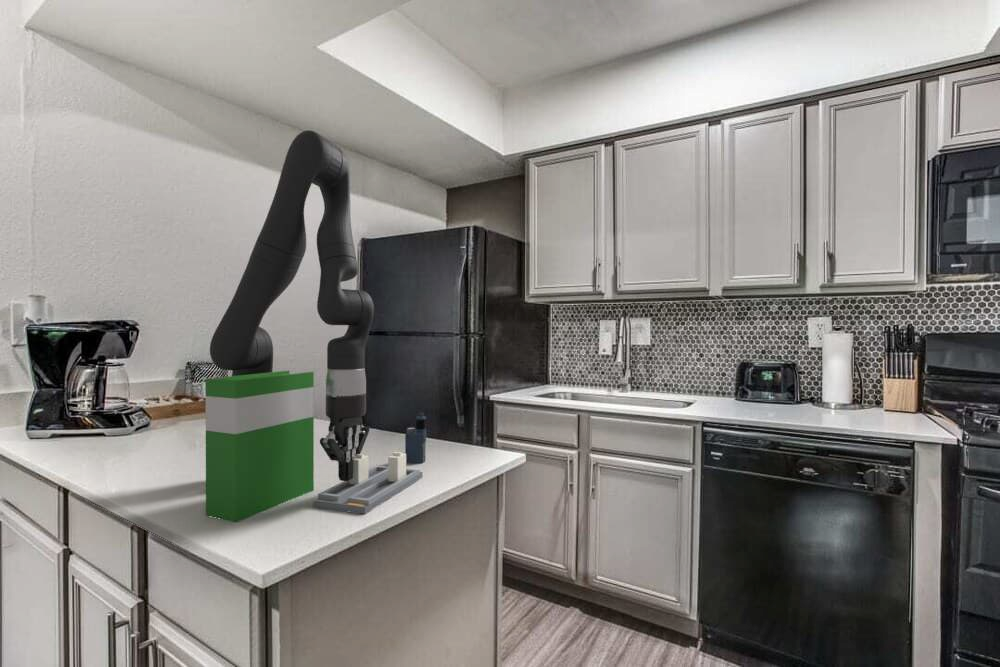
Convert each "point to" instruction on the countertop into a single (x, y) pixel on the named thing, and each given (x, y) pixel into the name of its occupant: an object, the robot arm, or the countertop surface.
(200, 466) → the countertop surface
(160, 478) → the countertop surface
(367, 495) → the switch board
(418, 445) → the vaping device
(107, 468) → the countertop surface
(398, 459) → the tab
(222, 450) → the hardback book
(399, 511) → the countertop surface
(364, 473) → the tab
